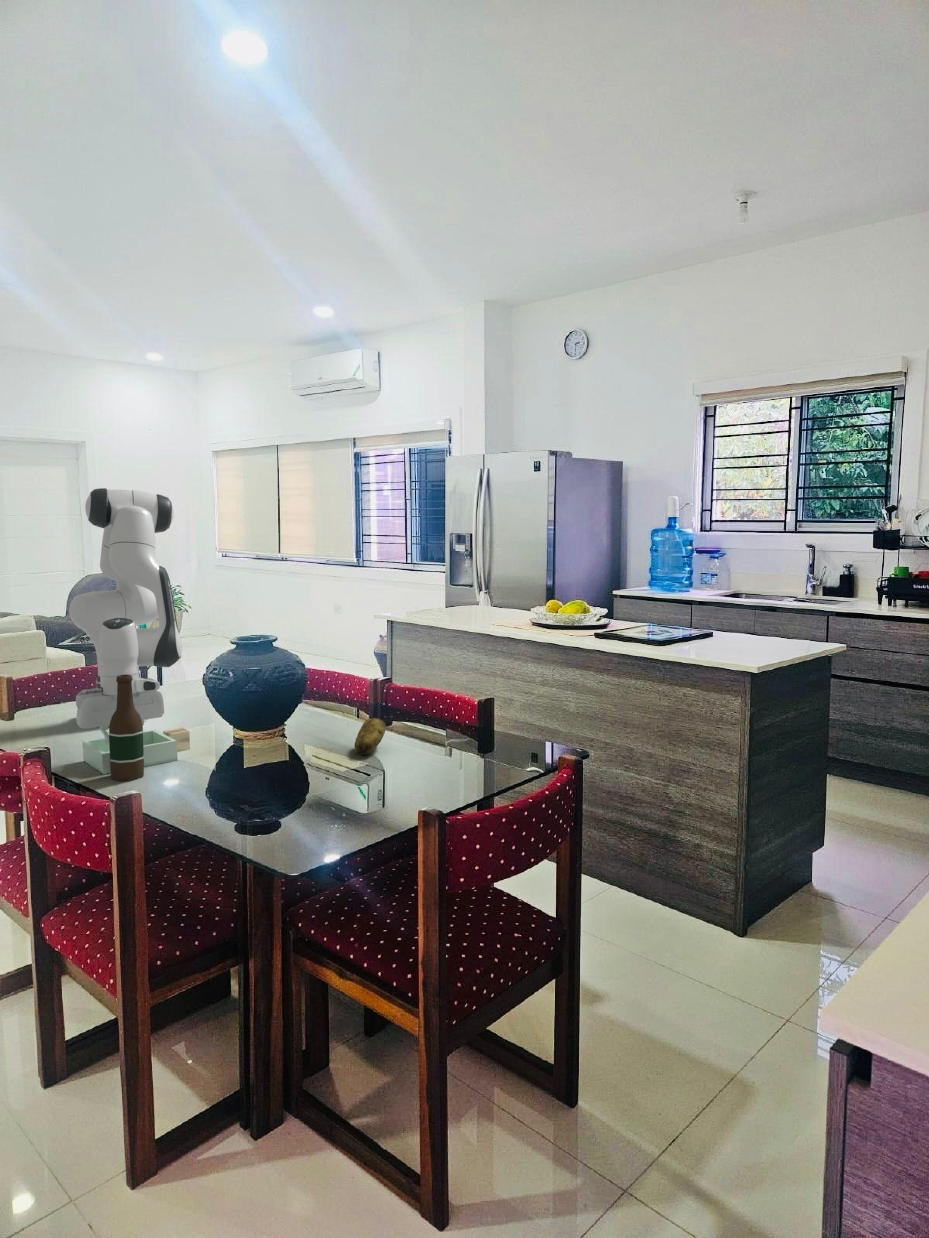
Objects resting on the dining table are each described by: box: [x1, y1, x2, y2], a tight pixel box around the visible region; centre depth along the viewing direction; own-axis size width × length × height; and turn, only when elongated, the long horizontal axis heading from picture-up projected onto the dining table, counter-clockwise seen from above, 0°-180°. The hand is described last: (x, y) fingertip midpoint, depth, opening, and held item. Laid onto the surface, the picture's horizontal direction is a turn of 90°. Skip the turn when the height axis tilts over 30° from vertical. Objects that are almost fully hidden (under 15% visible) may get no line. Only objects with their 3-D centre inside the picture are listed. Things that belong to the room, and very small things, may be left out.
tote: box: [82, 729, 178, 775], centre depth 202 cm, size 14×18×5 cm
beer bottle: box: [108, 675, 145, 782], centre depth 189 cm, size 8×8×24 cm
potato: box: [354, 717, 387, 756], centre depth 214 cm, size 8×13×8 cm, turn 151°
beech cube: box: [162, 727, 191, 753], centre depth 213 cm, size 5×5×5 cm
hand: (122, 740), depth 201 cm, fingers closed on white jar, 5 cm apart
